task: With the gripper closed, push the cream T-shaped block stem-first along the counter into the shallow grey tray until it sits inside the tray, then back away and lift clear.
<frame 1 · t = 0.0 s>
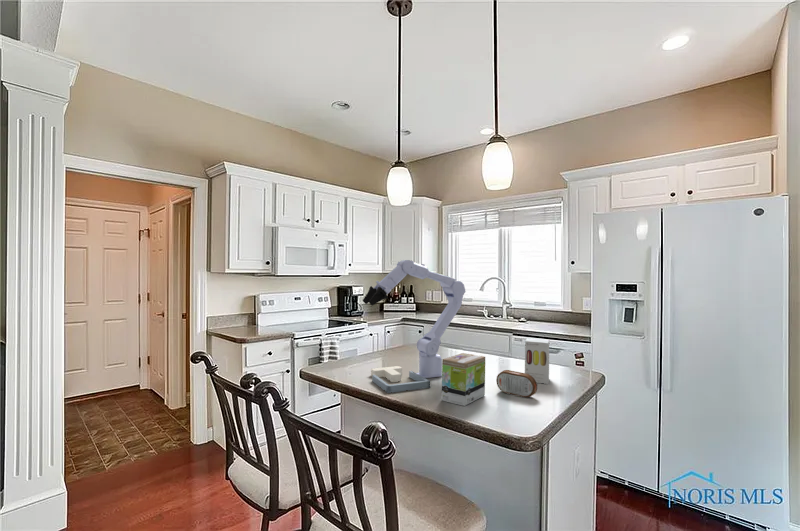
hand: (367, 303, 162), 32 cm above the table, tool tilted 50°, fingers open, 7 cm apart
shallow grey tray: (400, 384, 160), on the table
tea box: (463, 399, 143), on the table
t block: (390, 377, 169), on the table
supplement box: (537, 380, 166), on the table
tin: (515, 395, 147), on the table
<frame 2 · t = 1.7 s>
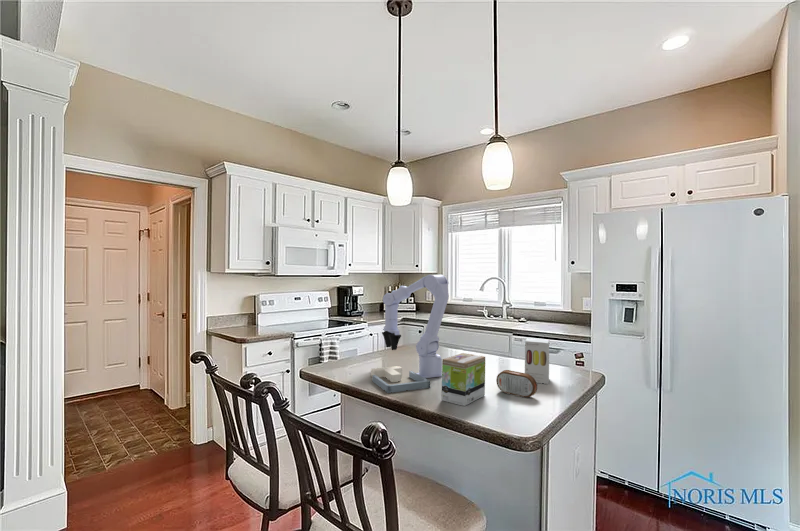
hand: (391, 348, 185), 9 cm above the table, tool pointing down, fingers open, 6 cm apart
nothing on the table moved.
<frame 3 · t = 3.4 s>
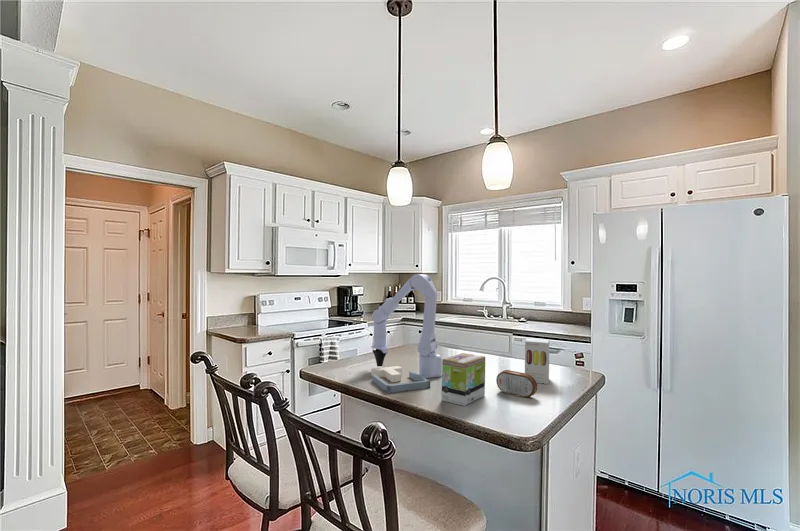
hand: (379, 366, 181), 2 cm above the table, tool pointing down, fingers closed
nothing on the table moved.
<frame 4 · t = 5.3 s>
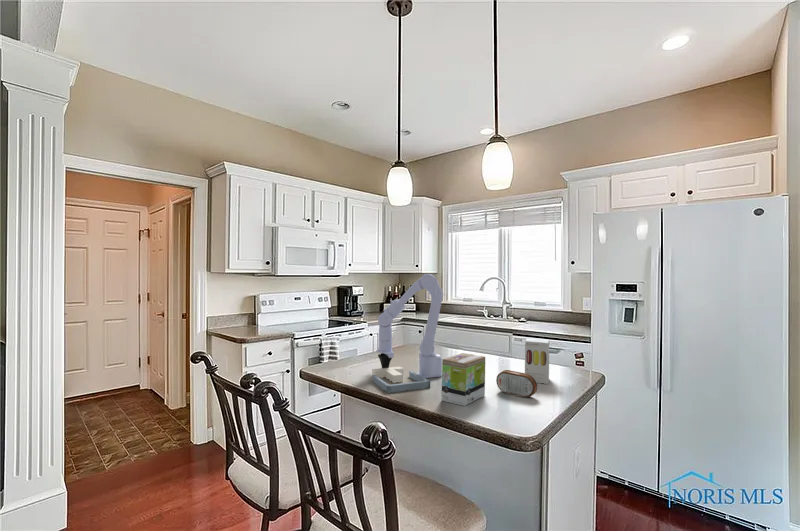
hand: (385, 370, 175), 1 cm above the table, tool pointing down, fingers closed
t block: (391, 378, 168), on the table, touching gripper
everything else where it was.
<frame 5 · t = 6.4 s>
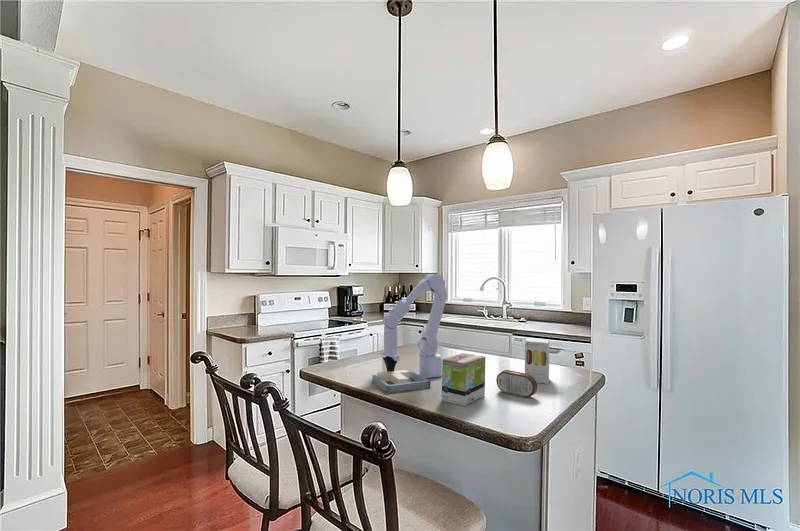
hand: (390, 374, 169), 1 cm above the table, tool pointing down, fingers closed
t block: (397, 382, 162), resting in shallow grey tray, touching gripper
everything else where it was.
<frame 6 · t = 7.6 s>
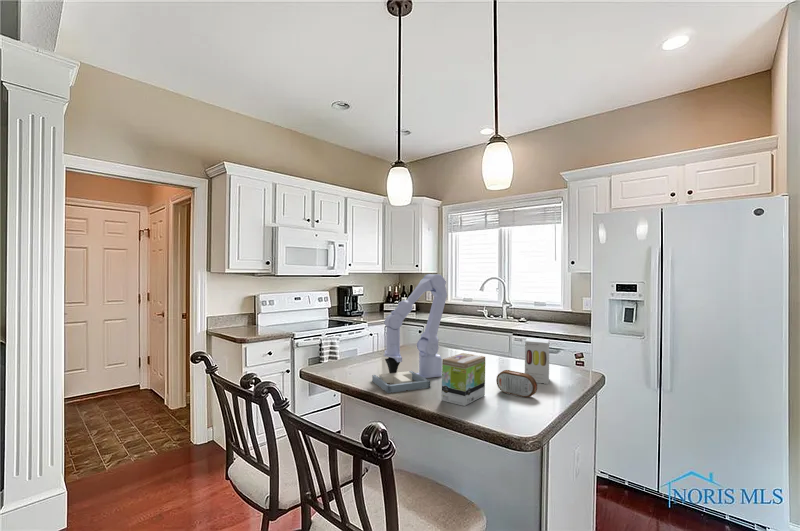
hand: (392, 375, 167), 1 cm above the table, tool pointing down, fingers closed
t block: (400, 384, 160), resting in shallow grey tray
everything else where it was.
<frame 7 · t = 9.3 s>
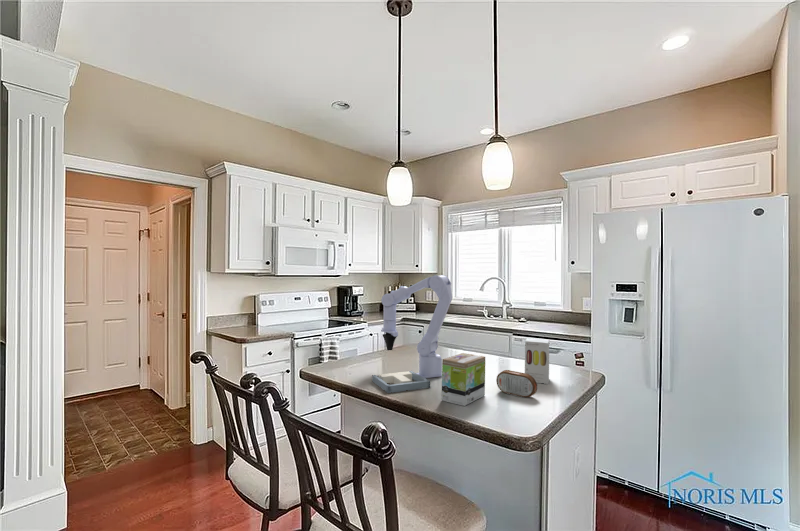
hand: (389, 349, 181), 9 cm above the table, tool pointing down, fingers closed
nothing on the table moved.
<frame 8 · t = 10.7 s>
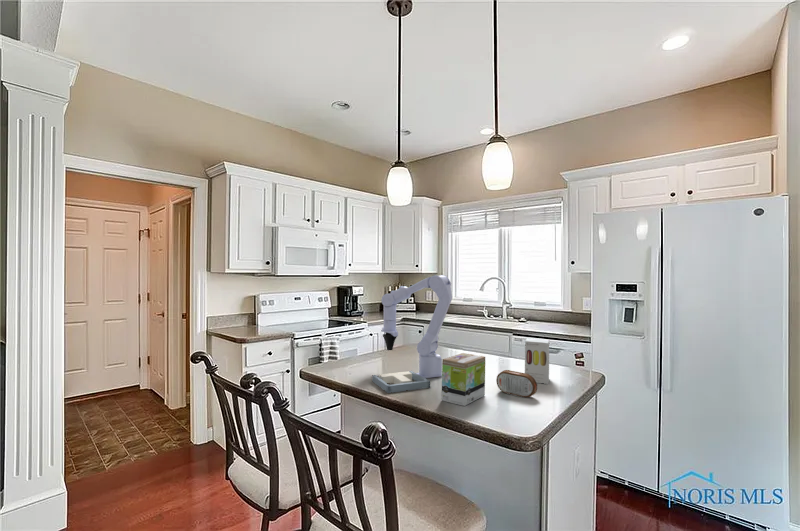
hand: (389, 349, 181), 9 cm above the table, tool pointing down, fingers closed
nothing on the table moved.
at the end: t block 0.4 cm from the target spot, resting in shallow grey tray; t block tilted 0° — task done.
